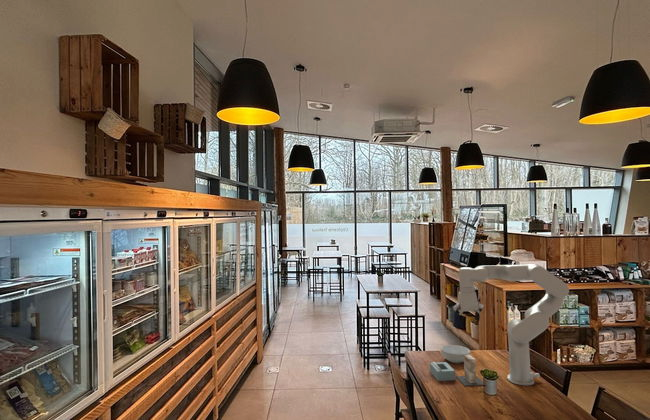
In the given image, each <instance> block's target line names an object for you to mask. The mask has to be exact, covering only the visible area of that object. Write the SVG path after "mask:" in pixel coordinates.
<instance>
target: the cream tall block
mask: <svg viewBox="0 0 650 420" xmlns="http://www.w3.org/2000/svg"><path fill="white" fill-rule="evenodd" d="M463 370H464V376H465V378H466V379H467V380H468V381H469V382H470V383H476V376H477V365H476V358H475V357H473V356H472V355H471V354H470V355H464V362H463Z"/></svg>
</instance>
